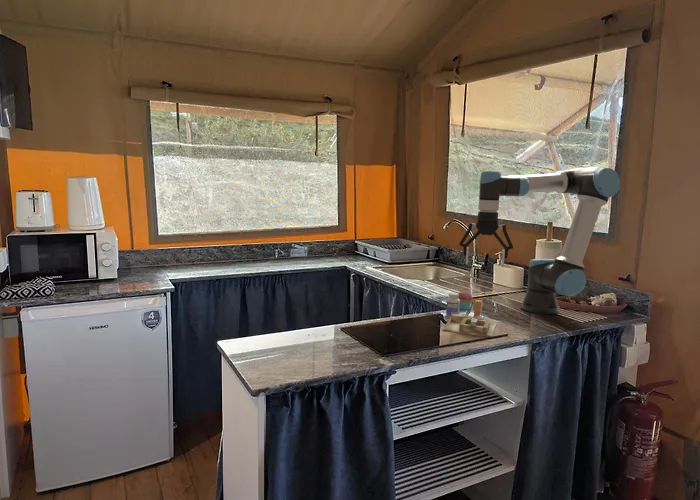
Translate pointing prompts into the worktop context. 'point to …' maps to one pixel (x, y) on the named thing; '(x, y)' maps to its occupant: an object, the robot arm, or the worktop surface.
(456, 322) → the mount
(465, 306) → the cupcake
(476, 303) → the lock bar
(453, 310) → the pill bottle
